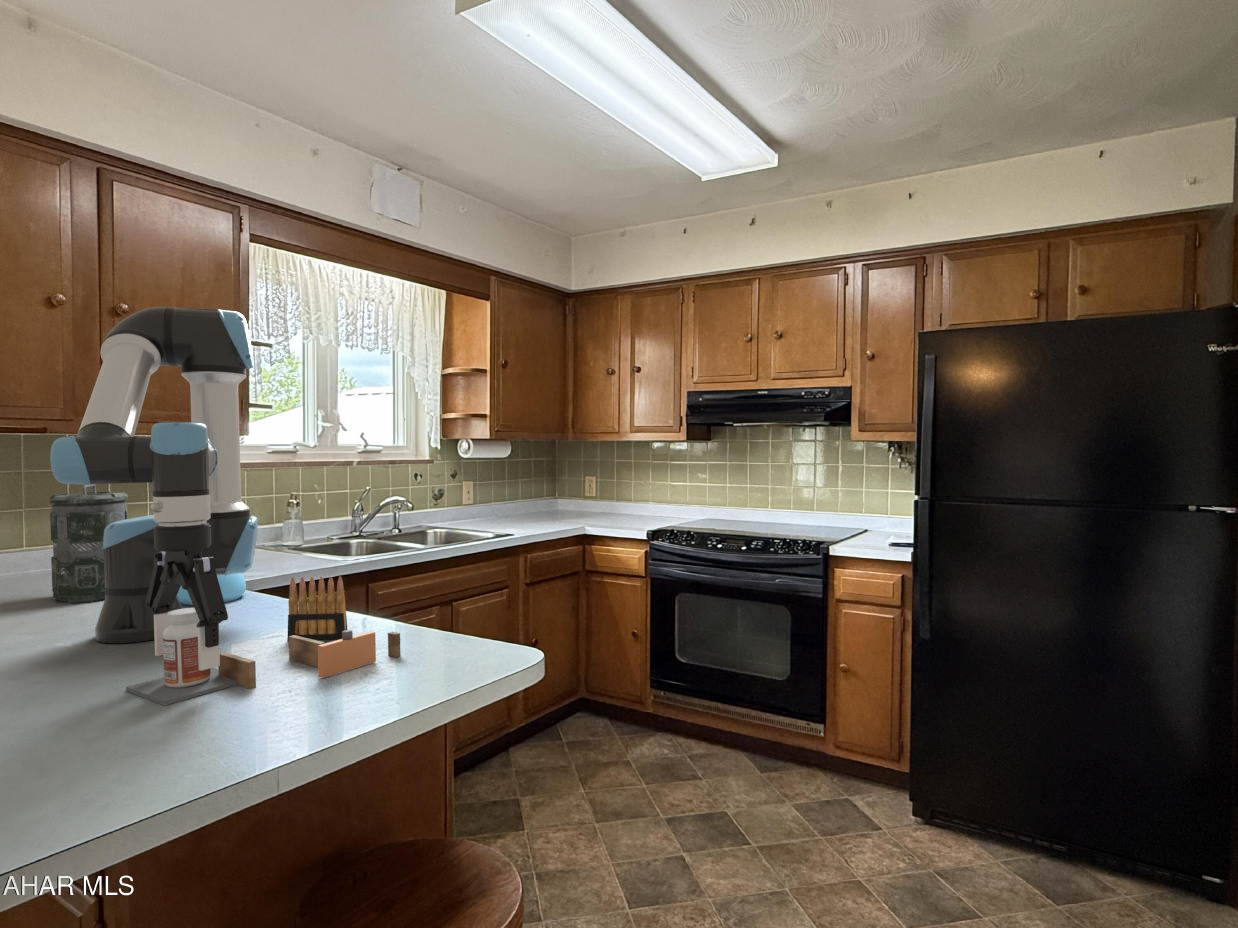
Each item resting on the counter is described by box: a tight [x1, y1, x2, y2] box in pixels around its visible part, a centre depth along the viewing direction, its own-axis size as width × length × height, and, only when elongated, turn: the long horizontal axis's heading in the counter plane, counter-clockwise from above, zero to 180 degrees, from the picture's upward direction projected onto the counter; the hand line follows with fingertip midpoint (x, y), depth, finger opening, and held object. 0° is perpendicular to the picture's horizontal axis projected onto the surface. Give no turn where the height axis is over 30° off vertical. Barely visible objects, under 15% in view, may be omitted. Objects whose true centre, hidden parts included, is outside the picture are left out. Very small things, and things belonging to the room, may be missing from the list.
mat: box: [125, 667, 238, 706], centre depth 112 cm, size 12×12×1 cm
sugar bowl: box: [177, 573, 247, 606], centre depth 175 cm, size 15×15×12 cm
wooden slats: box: [217, 631, 401, 689], centre depth 121 cm, size 15×24×4 cm, turn 146°
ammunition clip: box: [287, 575, 348, 643], centre depth 138 cm, size 11×2×12 cm, turn 93°
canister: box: [49, 484, 130, 604], centre depth 180 cm, size 16×16×28 cm
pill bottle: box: [162, 607, 211, 688], centre depth 112 cm, size 6×6×11 cm
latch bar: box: [317, 629, 377, 679], centre depth 119 cm, size 2×10×6 cm, turn 146°
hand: (186, 660), depth 112 cm, fingers open, 13 cm apart
